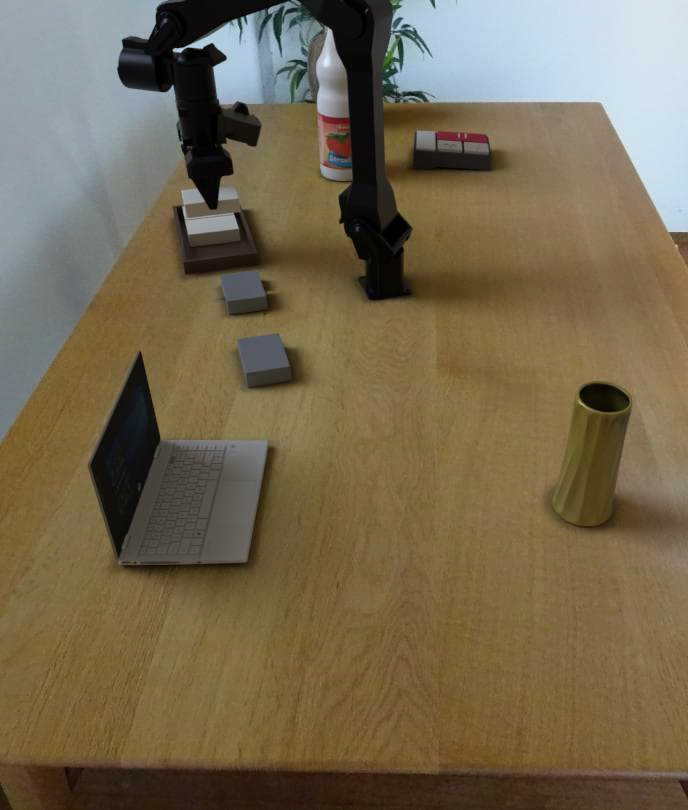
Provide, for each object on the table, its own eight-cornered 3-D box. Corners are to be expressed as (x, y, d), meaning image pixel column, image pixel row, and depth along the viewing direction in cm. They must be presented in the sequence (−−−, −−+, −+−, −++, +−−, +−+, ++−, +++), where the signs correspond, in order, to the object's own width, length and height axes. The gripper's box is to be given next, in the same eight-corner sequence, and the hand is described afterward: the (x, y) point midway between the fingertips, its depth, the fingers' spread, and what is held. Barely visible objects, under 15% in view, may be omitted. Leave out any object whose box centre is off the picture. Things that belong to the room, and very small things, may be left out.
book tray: (259, 267, 125) (257, 252, 123) (185, 277, 122) (183, 262, 121) (240, 212, 141) (238, 198, 139) (174, 219, 138) (172, 205, 137)
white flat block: (186, 218, 119) (184, 204, 118) (183, 203, 124) (181, 190, 122) (240, 212, 121) (239, 198, 120) (235, 197, 125) (234, 184, 124)
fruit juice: (356, 160, 160) (352, 7, 143) (377, 177, 154) (376, 17, 137) (312, 168, 157) (303, 12, 140) (332, 185, 150) (325, 23, 133)
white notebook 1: (231, 212, 139) (229, 200, 138) (235, 226, 135) (234, 213, 134) (184, 218, 138) (182, 206, 136) (187, 231, 133) (185, 219, 132)
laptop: (247, 566, 77) (231, 464, 69) (116, 567, 77) (84, 465, 69) (269, 444, 91) (258, 348, 83) (159, 444, 91) (136, 348, 83)
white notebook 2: (235, 226, 135) (234, 214, 134) (240, 241, 131) (239, 228, 130) (187, 232, 133) (185, 220, 132) (190, 247, 129) (188, 234, 128)
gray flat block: (291, 380, 101) (290, 366, 100) (247, 387, 100) (245, 373, 99) (280, 346, 107) (278, 332, 106) (238, 353, 106) (236, 339, 105)
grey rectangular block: (267, 309, 115) (266, 295, 114) (228, 315, 114) (227, 301, 112) (258, 283, 121) (257, 269, 120) (221, 288, 120) (220, 274, 118)
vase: (570, 478, 87) (591, 370, 79) (622, 503, 84) (649, 394, 75) (541, 508, 83) (559, 399, 75) (594, 536, 80) (619, 425, 72)
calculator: (492, 151, 155) (414, 146, 154) (489, 173, 157) (412, 168, 157) (488, 132, 163) (414, 127, 163) (486, 153, 166) (413, 148, 166)
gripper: (264, 110, 107) (275, 220, 117) (244, 72, 121) (255, 173, 131) (179, 118, 104) (196, 230, 114) (168, 78, 119) (185, 180, 128)
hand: (211, 201), depth 122 cm, fingers closed on white flat block, 5 cm apart
